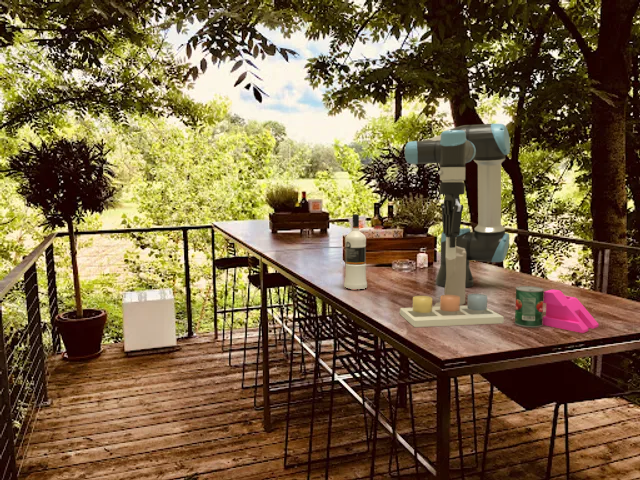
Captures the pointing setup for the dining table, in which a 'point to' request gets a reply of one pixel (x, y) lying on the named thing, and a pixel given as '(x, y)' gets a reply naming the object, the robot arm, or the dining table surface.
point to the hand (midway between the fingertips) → (450, 257)
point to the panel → (451, 317)
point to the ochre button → (422, 304)
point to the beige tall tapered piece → (456, 275)
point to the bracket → (566, 313)
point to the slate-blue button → (477, 302)
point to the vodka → (355, 257)
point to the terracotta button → (450, 303)
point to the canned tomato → (529, 306)
